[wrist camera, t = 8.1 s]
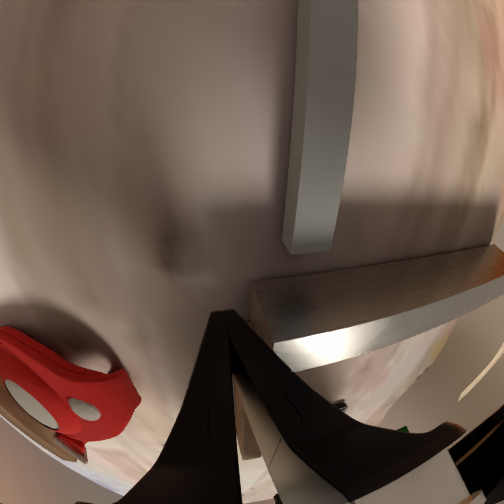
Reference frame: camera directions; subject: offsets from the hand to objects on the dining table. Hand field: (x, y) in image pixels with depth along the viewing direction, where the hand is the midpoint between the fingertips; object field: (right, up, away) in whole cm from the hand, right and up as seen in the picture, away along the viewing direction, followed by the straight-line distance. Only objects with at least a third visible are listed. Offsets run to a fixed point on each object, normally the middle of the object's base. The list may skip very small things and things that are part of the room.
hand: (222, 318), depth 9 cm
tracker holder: (-11, -6, +3) cm, 13 cm away
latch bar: (+10, +1, +4) cm, 10 cm away
